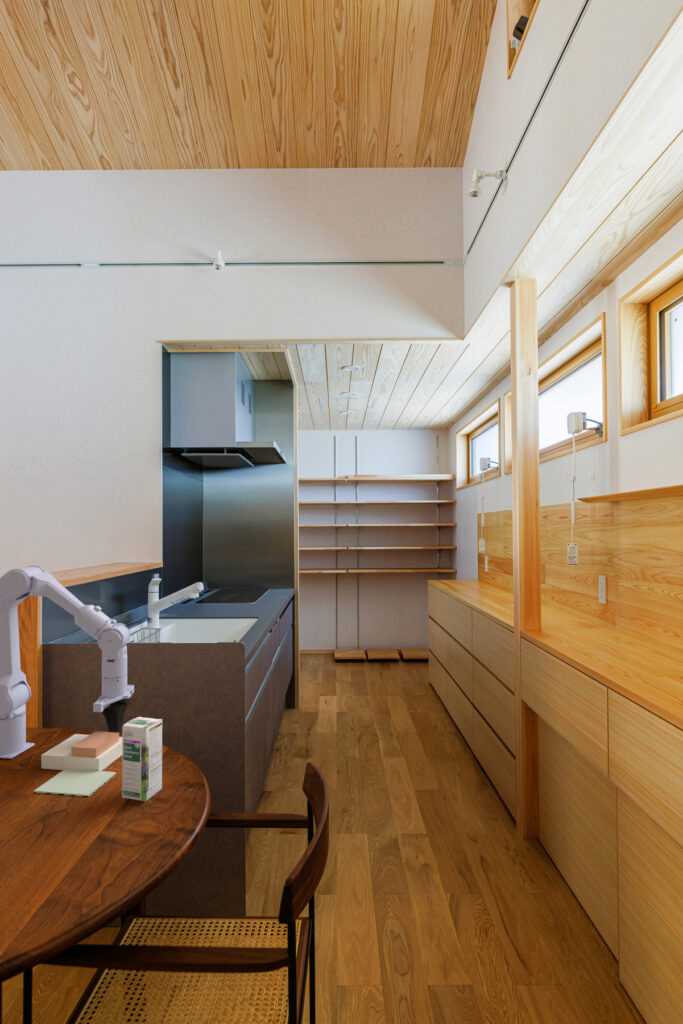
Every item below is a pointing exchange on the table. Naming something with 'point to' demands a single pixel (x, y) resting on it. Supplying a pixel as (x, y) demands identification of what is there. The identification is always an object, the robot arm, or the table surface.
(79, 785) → the mat
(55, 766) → the white flat block
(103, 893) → the table surface
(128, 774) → the syrup box
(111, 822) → the table surface
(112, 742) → the tile
